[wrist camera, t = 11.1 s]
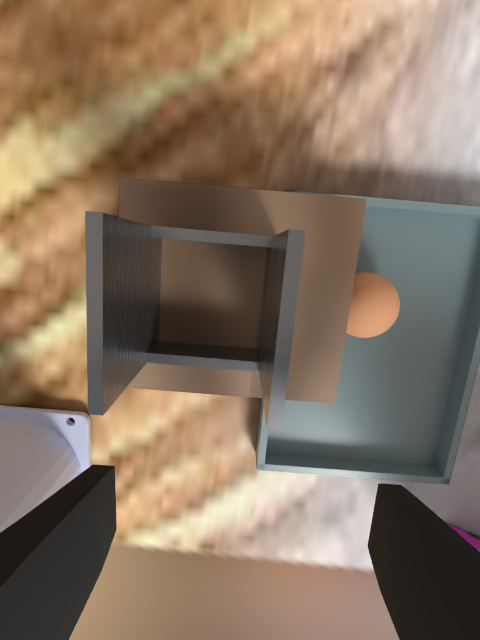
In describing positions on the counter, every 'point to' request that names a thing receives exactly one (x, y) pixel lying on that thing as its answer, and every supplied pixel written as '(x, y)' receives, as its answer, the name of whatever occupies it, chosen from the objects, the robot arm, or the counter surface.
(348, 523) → the counter surface
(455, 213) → the tray
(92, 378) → the sleeve
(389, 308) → the ball
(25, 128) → the counter surface
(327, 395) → the stand
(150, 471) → the counter surface
